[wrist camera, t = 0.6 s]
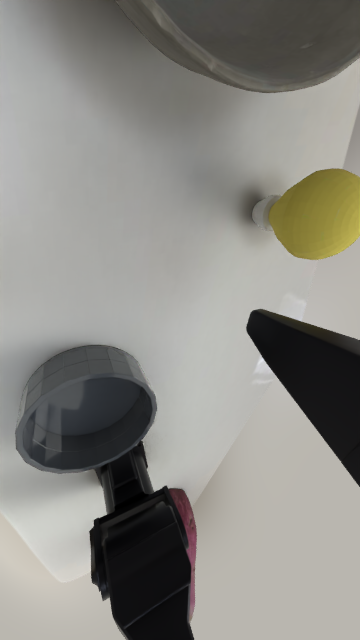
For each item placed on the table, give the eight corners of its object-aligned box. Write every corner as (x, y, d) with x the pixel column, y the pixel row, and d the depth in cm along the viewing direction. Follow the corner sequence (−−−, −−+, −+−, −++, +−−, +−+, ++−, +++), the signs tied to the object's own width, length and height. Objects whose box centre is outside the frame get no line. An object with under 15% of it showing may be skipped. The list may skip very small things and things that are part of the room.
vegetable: (168, 498, 49) (203, 598, 39) (122, 521, 42) (151, 647, 33) (192, 477, 44) (239, 586, 34) (144, 499, 37) (185, 641, 28)
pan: (149, 409, 30) (161, 438, 26) (46, 450, 26) (45, 492, 22) (135, 331, 24) (149, 355, 20) (0, 368, 20) (-13, 406, 16)
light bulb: (231, 186, 22) (332, 180, 14) (286, 166, 23) (406, 151, 15) (238, 254, 25) (321, 282, 17) (285, 233, 27) (382, 250, 19)
